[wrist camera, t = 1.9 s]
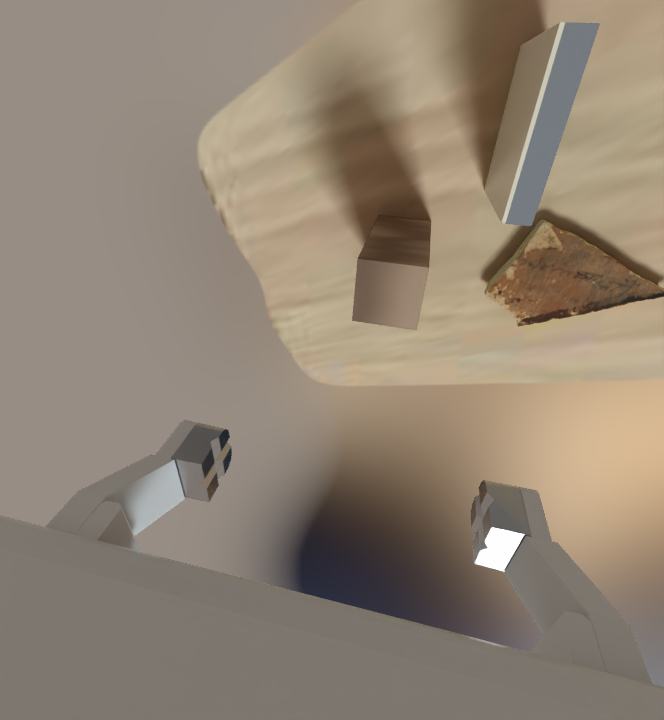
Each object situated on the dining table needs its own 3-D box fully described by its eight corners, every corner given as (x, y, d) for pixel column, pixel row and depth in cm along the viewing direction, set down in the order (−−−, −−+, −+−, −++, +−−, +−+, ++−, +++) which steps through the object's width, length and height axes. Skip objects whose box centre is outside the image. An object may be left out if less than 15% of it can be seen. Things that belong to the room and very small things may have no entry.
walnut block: (431, 220, 30) (429, 267, 21) (421, 270, 32) (416, 330, 24) (378, 215, 30) (357, 258, 22) (373, 264, 32) (352, 320, 24)
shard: (662, 286, 29) (674, 296, 28) (579, 356, 33) (586, 368, 32) (542, 211, 28) (548, 217, 27) (473, 294, 32) (475, 303, 31)
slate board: (547, 46, 23) (599, 23, 16) (506, 191, 27) (531, 226, 20) (520, 45, 23) (559, 22, 16) (484, 189, 28) (501, 223, 20)
